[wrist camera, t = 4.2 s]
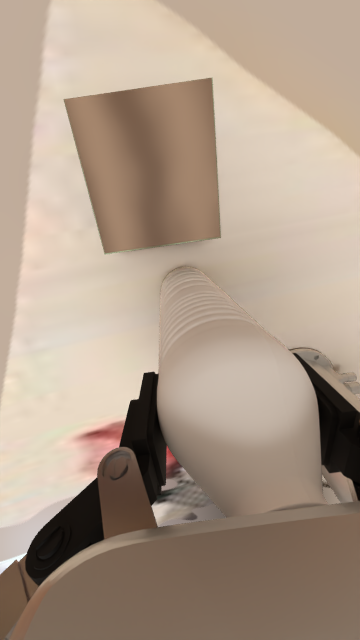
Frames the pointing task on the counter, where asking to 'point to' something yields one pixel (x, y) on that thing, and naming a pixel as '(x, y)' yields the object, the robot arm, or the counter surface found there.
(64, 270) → the counter surface
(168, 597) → the robot arm
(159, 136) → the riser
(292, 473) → the water bottle
